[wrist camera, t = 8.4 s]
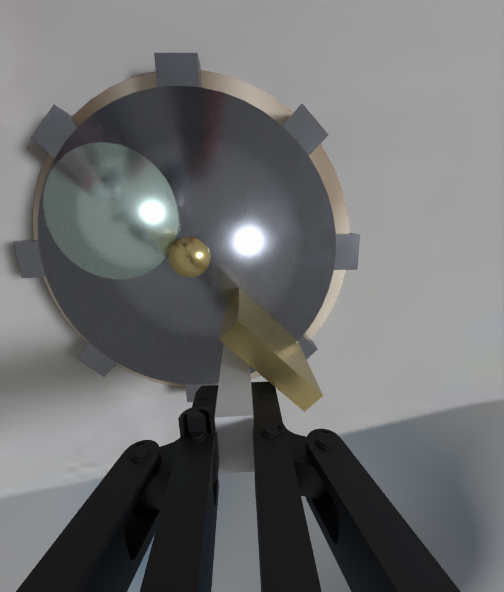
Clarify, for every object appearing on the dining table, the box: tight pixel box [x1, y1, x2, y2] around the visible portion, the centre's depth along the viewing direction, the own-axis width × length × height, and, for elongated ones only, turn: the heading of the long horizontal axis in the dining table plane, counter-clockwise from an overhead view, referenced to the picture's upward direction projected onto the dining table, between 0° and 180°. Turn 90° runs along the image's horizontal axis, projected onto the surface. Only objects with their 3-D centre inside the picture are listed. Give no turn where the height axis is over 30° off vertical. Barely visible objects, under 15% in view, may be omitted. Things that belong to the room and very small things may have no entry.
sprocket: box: [13, 53, 360, 412], centre depth 15 cm, size 21×21×8 cm
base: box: [33, 71, 349, 387], centre depth 19 cm, size 21×21×1 cm
